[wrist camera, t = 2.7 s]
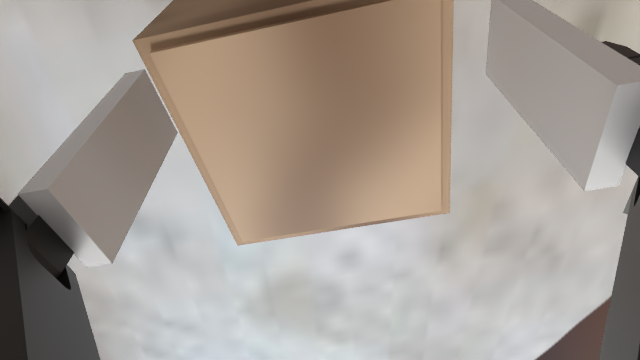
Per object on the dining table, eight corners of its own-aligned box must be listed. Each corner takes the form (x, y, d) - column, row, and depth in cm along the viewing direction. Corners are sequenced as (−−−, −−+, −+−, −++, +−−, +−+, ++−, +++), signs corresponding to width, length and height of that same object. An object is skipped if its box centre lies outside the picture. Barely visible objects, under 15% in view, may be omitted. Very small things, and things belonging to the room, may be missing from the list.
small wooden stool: (263, 112, 20) (237, 248, 13) (212, -38, 15) (130, 42, 8) (398, 86, 19) (451, 216, 12) (385, -80, 15) (456, -30, 8)
